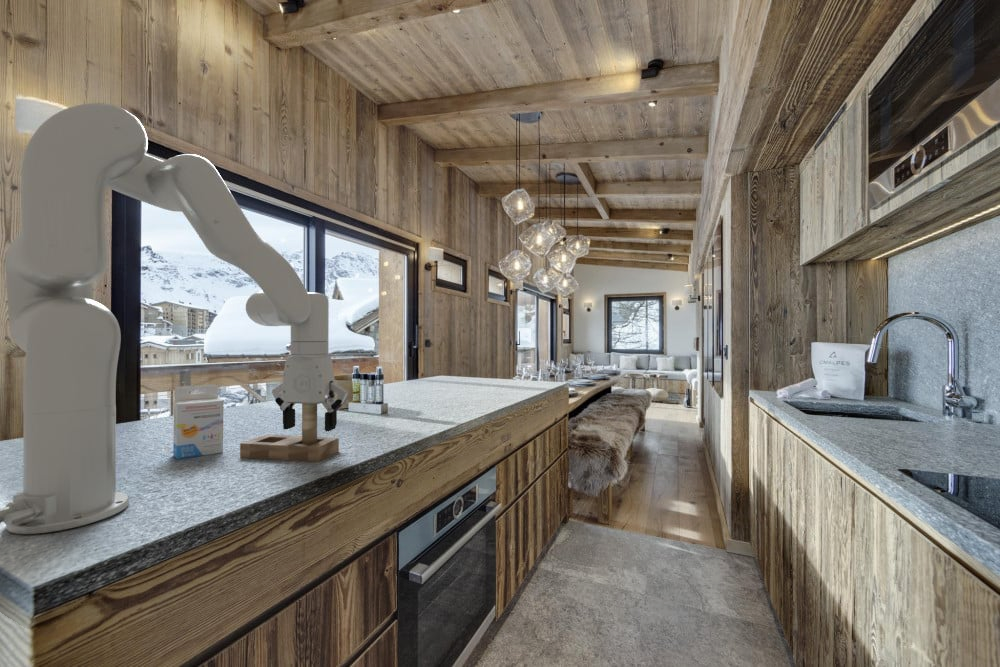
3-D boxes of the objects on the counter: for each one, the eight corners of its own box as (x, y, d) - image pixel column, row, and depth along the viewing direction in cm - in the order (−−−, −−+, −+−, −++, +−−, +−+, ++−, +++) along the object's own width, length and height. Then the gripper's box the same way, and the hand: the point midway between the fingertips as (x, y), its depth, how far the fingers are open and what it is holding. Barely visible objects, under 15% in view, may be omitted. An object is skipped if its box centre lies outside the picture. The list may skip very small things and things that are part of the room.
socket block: (318, 461, 89) (318, 447, 89) (240, 457, 92) (240, 443, 92) (338, 451, 97) (338, 437, 97) (266, 447, 100) (266, 434, 100)
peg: (311, 457, 92) (312, 401, 92) (299, 457, 93) (299, 400, 93) (320, 453, 95) (320, 399, 95) (307, 453, 96) (307, 398, 96)
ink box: (176, 460, 90) (176, 389, 90) (172, 455, 94) (173, 387, 94) (224, 452, 96) (224, 385, 96) (218, 448, 100) (219, 383, 100)
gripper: (261, 350, 92) (261, 431, 92) (337, 351, 89) (337, 434, 89) (284, 348, 99) (284, 424, 99) (355, 349, 96) (355, 426, 96)
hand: (309, 429), depth 94 cm, fingers open, 9 cm apart
